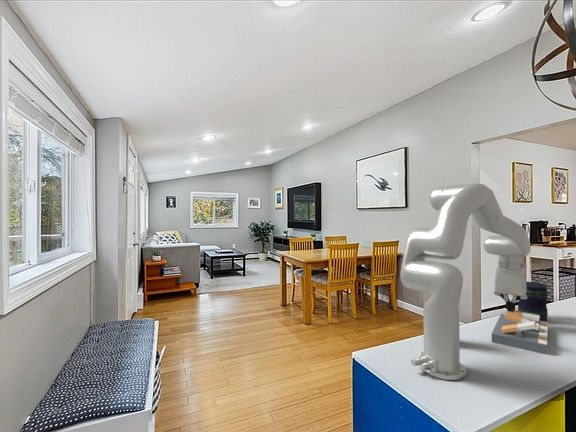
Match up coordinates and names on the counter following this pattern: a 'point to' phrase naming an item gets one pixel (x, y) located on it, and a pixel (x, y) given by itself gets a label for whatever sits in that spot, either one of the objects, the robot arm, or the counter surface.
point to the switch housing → (522, 336)
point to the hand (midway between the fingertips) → (510, 311)
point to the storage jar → (535, 300)
